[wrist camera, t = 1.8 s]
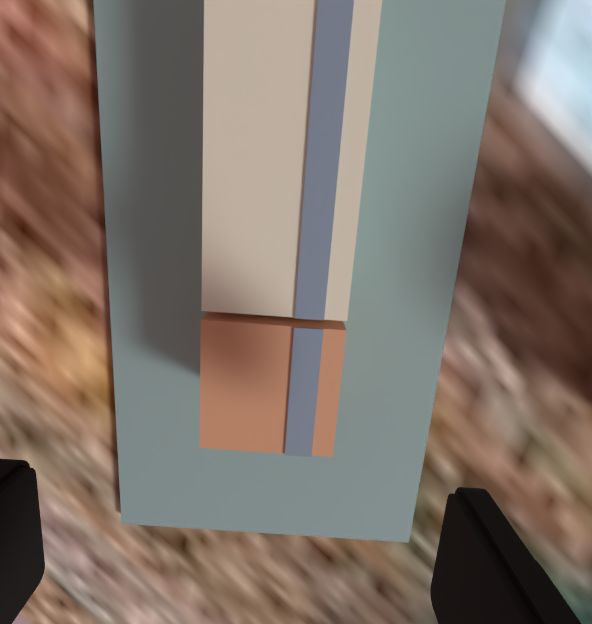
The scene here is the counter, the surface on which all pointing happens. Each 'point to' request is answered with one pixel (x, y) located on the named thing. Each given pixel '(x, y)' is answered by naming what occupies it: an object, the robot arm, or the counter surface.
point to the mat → (364, 287)
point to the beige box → (284, 152)
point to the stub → (270, 383)
